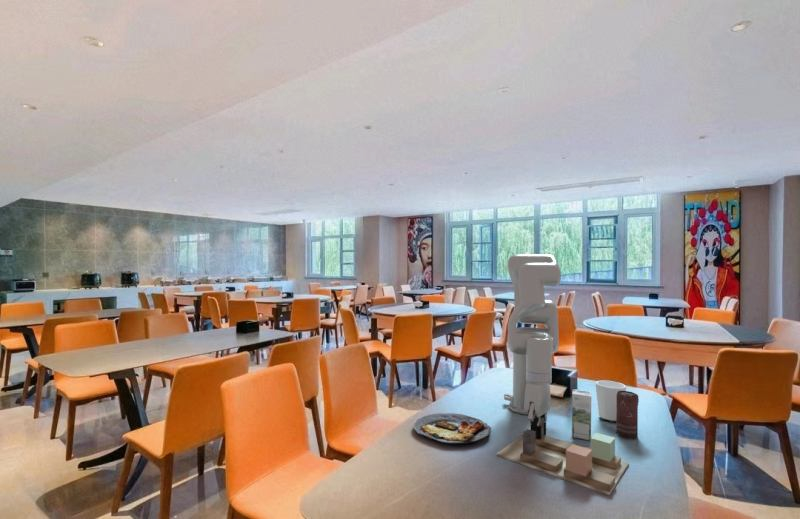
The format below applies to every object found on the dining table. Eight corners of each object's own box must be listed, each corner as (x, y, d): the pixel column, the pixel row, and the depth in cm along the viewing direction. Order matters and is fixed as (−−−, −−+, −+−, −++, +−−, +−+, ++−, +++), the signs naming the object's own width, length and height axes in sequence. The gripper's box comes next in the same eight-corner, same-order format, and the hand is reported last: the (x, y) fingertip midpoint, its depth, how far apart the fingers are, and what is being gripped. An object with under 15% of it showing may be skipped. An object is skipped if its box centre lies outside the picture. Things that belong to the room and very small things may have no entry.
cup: (596, 421, 144) (596, 386, 144) (594, 412, 153) (594, 379, 153) (628, 426, 140) (628, 389, 140) (624, 416, 149) (624, 382, 149)
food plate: (503, 432, 133) (503, 421, 134) (464, 456, 116) (463, 444, 117) (443, 414, 150) (442, 405, 151) (400, 434, 133) (400, 423, 134)
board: (496, 455, 117) (496, 453, 117) (526, 434, 132) (526, 432, 132) (609, 495, 97) (609, 492, 97) (628, 465, 112) (628, 463, 112)
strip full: (530, 442, 124) (530, 418, 124) (536, 437, 128) (537, 413, 128) (616, 469, 108) (616, 441, 108) (620, 462, 112) (620, 435, 112)
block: (565, 469, 105) (565, 450, 105) (572, 462, 108) (572, 444, 108) (585, 476, 101) (586, 456, 101) (591, 469, 105) (592, 449, 105)
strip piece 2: (563, 475, 105) (563, 469, 105) (570, 468, 109) (570, 462, 109) (609, 492, 98) (609, 484, 98) (615, 483, 101) (615, 476, 101)
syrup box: (591, 434, 133) (591, 390, 133) (591, 441, 127) (591, 395, 127) (572, 431, 135) (572, 388, 135) (571, 438, 130) (571, 393, 130)
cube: (590, 456, 112) (590, 438, 112) (595, 450, 116) (595, 432, 116) (610, 462, 109) (610, 443, 109) (614, 455, 113) (615, 437, 113)
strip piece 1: (520, 459, 113) (520, 432, 113) (527, 453, 117) (527, 427, 117) (556, 472, 106) (556, 443, 106) (562, 465, 110) (562, 437, 110)
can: (641, 440, 128) (641, 396, 129) (619, 438, 130) (620, 395, 130) (634, 432, 134) (634, 390, 135) (613, 431, 136) (614, 389, 136)
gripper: (537, 369, 134) (537, 425, 134) (515, 379, 121) (515, 440, 121) (560, 373, 129) (559, 431, 129) (540, 384, 116) (539, 448, 116)
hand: (538, 435), depth 125 cm, fingers closed on strip full, 3 cm apart
